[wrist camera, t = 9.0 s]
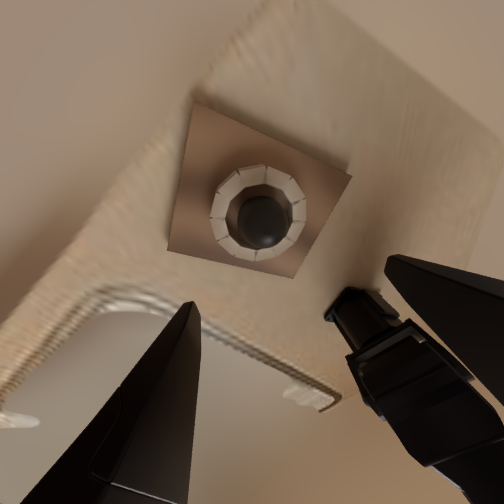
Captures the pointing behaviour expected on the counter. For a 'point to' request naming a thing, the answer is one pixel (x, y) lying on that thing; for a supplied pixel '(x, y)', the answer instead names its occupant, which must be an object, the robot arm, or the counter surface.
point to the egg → (262, 222)
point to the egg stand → (248, 194)
